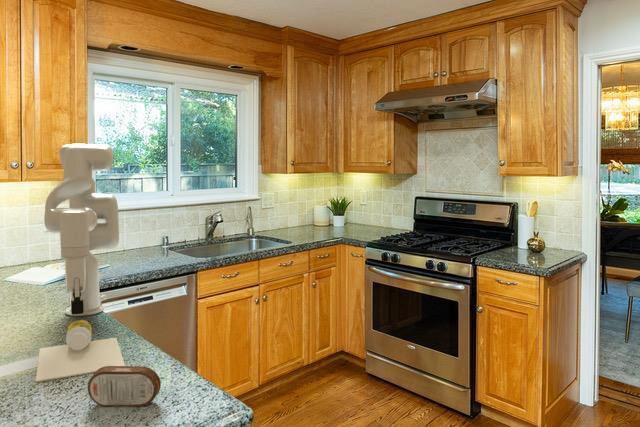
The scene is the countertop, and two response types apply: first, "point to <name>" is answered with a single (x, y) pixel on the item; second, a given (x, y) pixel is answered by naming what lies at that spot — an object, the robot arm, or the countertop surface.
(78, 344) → the pill bottle
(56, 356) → the mat
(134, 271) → the countertop surface
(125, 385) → the tin
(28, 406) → the countertop surface
